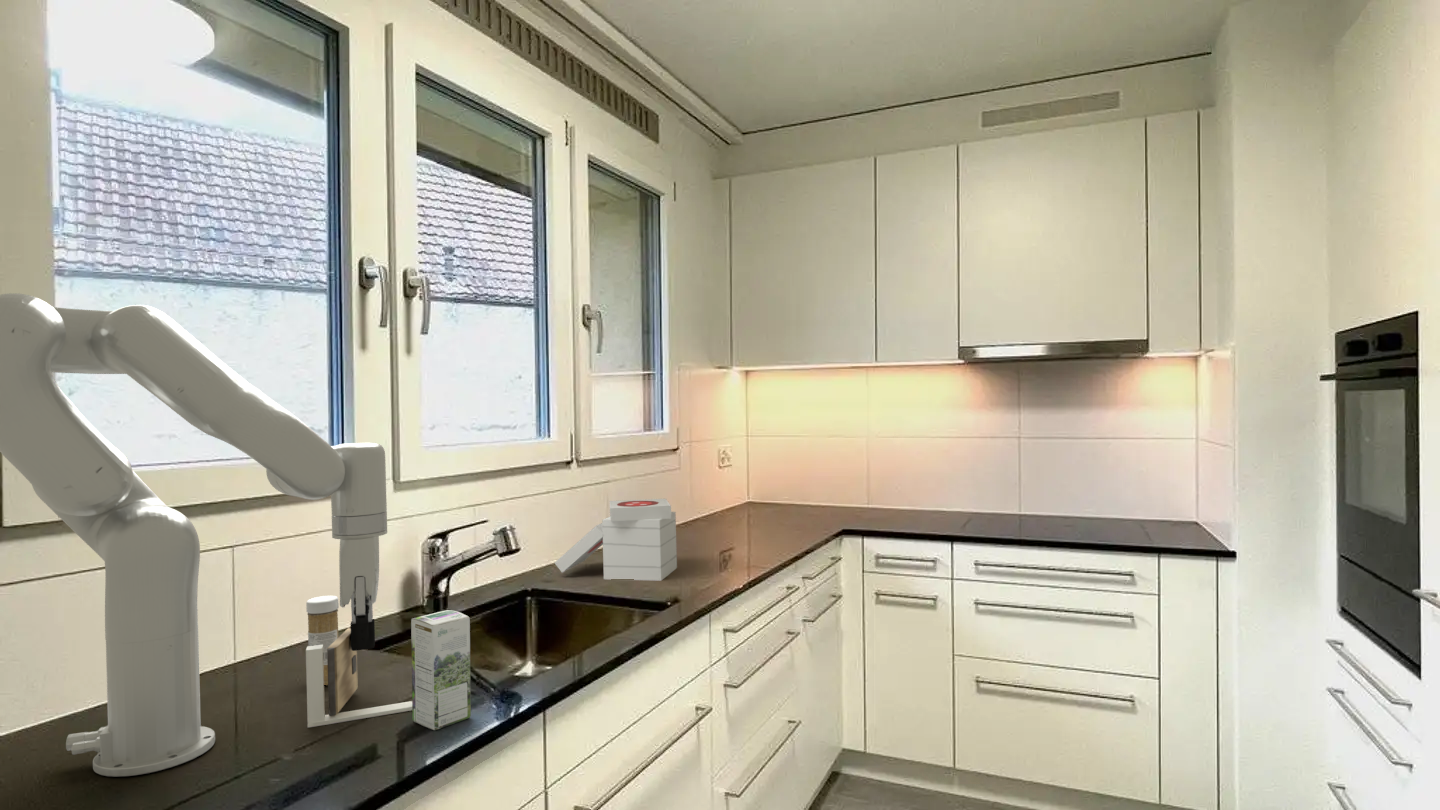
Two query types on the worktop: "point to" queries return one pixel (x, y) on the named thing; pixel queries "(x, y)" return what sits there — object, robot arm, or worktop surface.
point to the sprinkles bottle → (323, 624)
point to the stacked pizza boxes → (631, 541)
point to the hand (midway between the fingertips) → (363, 647)
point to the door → (341, 672)
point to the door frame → (318, 702)
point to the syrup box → (440, 669)
